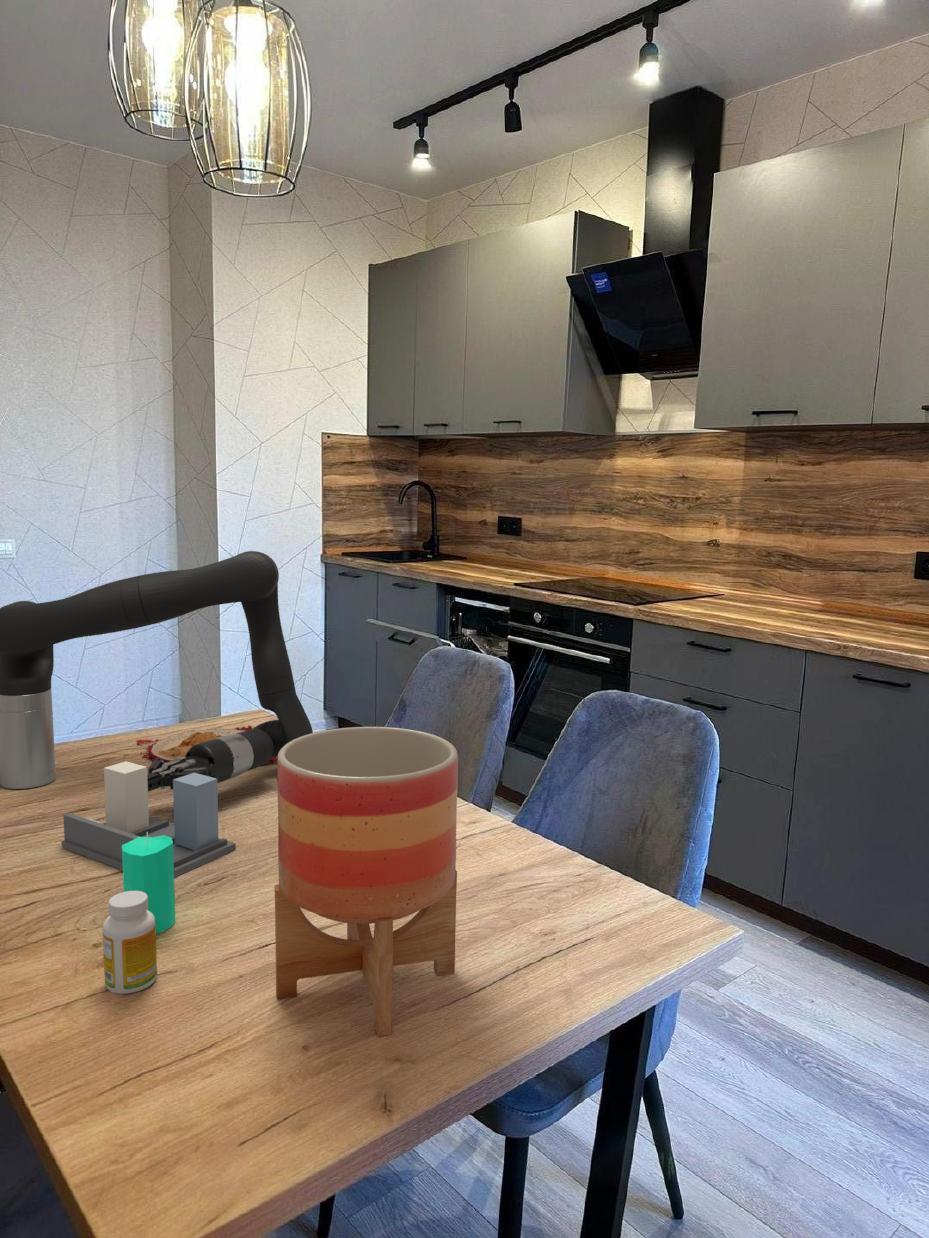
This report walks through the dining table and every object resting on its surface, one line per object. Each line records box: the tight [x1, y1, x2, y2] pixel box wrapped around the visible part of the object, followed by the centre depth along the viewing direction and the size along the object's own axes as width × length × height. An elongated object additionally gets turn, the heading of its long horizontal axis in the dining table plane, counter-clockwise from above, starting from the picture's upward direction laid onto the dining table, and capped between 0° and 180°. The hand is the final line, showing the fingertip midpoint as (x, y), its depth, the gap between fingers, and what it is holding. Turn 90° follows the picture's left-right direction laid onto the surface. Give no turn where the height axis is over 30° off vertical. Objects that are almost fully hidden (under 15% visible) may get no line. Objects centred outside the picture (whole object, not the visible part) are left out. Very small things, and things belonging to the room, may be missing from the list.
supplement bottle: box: [102, 891, 158, 995], centre depth 94 cm, size 5×5×10 cm
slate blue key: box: [172, 773, 219, 850], centre depth 128 cm, size 5×4×10 cm
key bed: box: [61, 812, 236, 878], centre depth 129 cm, size 22×14×5 cm, turn 59°
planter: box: [274, 726, 459, 1038], centre depth 93 cm, size 20×20×27 cm
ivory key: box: [103, 760, 150, 833], centre depth 133 cm, size 5×4×10 cm
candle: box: [122, 832, 176, 935], centre depth 106 cm, size 6×6×12 cm
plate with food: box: [136, 725, 278, 769], centre depth 177 cm, size 25×26×4 cm
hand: (137, 786), depth 134 cm, fingers closed
